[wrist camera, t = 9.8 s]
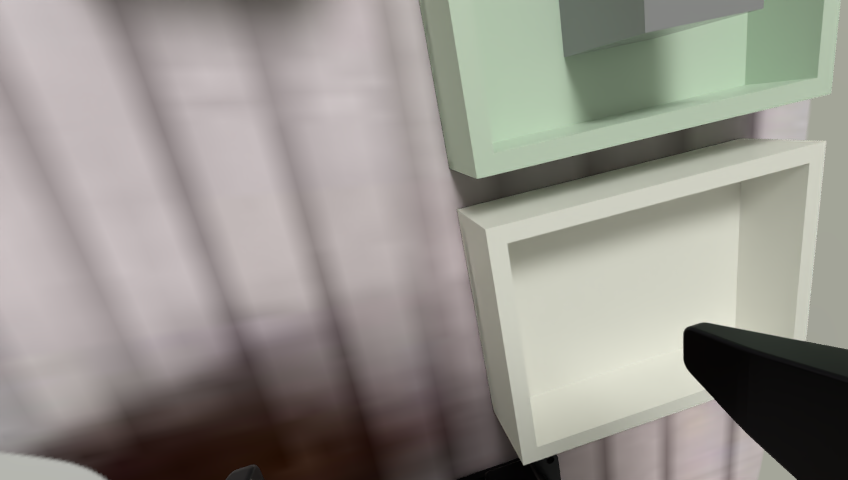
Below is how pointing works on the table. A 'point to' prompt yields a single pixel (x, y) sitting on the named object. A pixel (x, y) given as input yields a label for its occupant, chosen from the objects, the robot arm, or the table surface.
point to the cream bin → (636, 283)
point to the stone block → (638, 20)
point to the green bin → (609, 78)
